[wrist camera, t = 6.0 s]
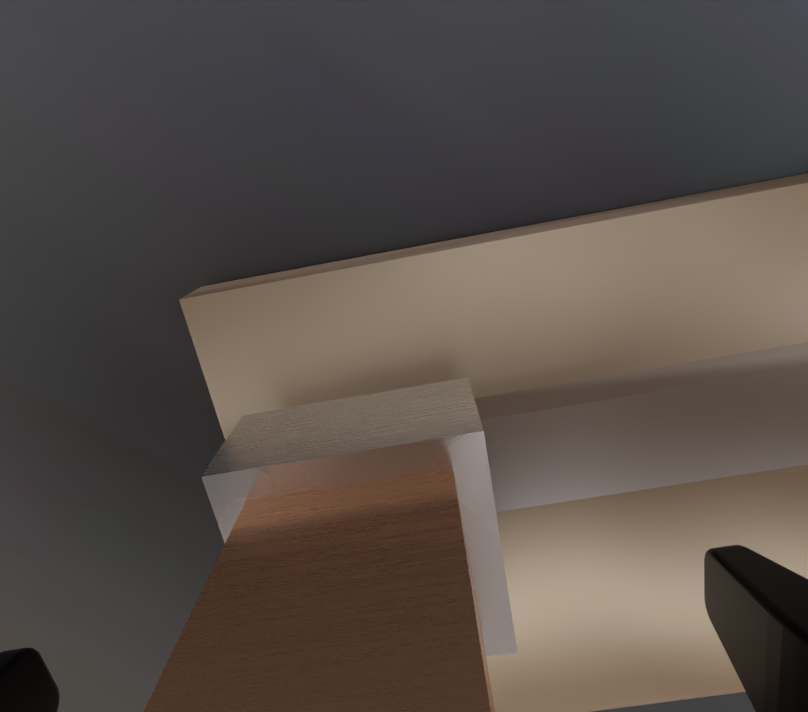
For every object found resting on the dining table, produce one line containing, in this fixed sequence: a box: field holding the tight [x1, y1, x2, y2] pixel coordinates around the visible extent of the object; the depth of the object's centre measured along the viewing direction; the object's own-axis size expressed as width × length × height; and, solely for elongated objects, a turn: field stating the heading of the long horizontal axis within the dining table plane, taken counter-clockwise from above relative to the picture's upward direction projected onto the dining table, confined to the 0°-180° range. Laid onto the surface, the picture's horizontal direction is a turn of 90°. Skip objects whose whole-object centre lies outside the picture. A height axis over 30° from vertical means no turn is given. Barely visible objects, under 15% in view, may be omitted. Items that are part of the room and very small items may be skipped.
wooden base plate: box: [179, 173, 808, 712], centre depth 10 cm, size 12×18×4 cm, turn 100°
